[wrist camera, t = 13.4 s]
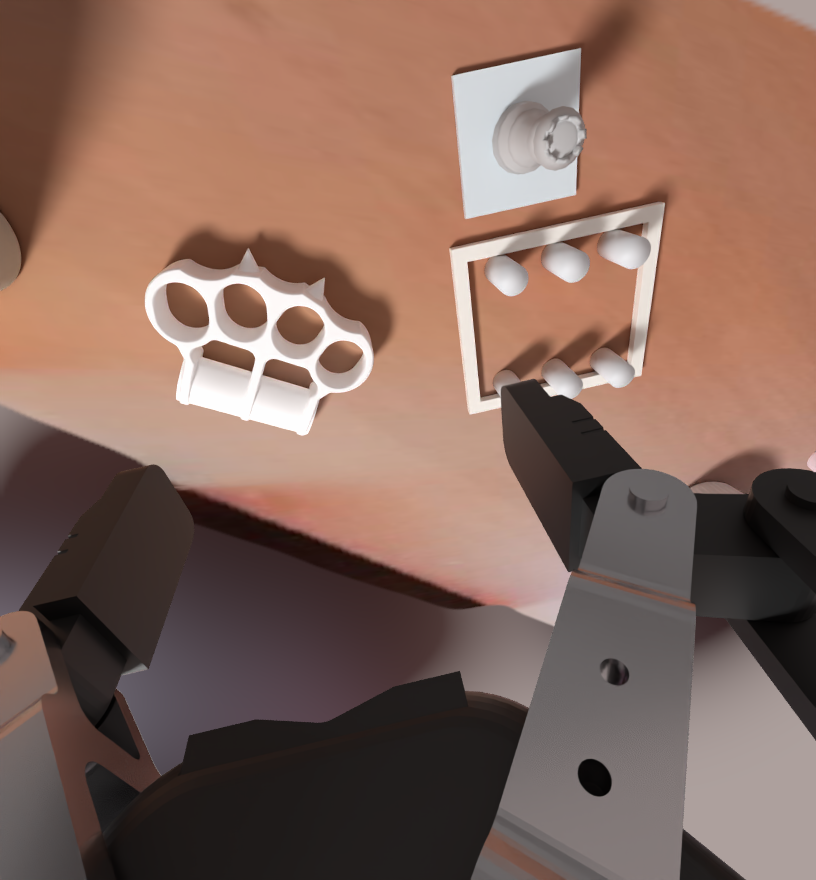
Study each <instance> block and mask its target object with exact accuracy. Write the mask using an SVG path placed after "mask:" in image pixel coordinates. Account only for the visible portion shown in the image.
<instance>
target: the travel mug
mask: <svg viewBox="0 0 816 880" xmlns="http://www.w3.org/2000/svg"><path fill="white" fill-rule="evenodd" d="M20 267H21V252H20V247H19V243H18V240H17V238H16V236H15V233H14V232H13V230H12V228H11V226H10V225H9V223H8V222H7V220H6V219H5V218H4V216H3V215H2V214H1V213H0V291H1V290H3V289H5V288H7V287H8V286H10V285H11V284H12V283H13V282H14V280H15V279H16V278H17V276H18V274H19V271H20Z"/></svg>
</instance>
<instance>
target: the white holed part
mask: <svg viewBox="0 0 816 880" xmlns="http://www.w3.org/2000/svg"><path fill="white" fill-rule="evenodd" d="M172 282H179V283H184V284H187V285H189V286H191V287H193V288H194V289H196V290H197V291H198V292H199V293H200V294H201V295H202V296H203V298H204V300H205V301H206V304H207V307H208V314H209V325H207V326H205V327H201V328H193V327H189V326H186V325H184V324H182V323H181V322H179V321H178V320H177V319H176V318H175V317H174V316H173V315H172V313H171V311H170V309H169V306H168V301H167V296H166V287H167V284H168V283H172ZM237 283H239V284H245V285H248V286H250V287H252V288H254V289H255V290H257V291H258V292H259V293H260V294H261V296H262V297H263V299H264V301H265V303H266V307H267V322H266V323H264V324H263V325H262V326H259V327H256V328H246V327H242V326H240V325H238V324H236V323H235V322H234V321H233V320H232V319H231V318H230V317H229V316H228V314H227V312H226V309H225V304H224V295H223V292H224V288H225V287H226V286H228V285H231V284H237ZM324 283H325V278H323V279H321V280H319V281H317V282H315V283H314V284H312V285H310V286H309V285H308V284H306V283H305V282H303V283H291V282H286V281H283V280H281V279H279V278H277V277H275V276H274V275H273V274H271V273H270V272H269V271H268V270H267V269H266V268H265V267H260V266H258V265H257V263H256V261H255V259H254V257H253V255H252V254H251V252H250V250H249V248H248V249H247V251H246V253H245V255H244V257H243V259H242V261H241V263H240V264H238V265H236V266H234V267H231V268H228V269H211V268H207V267H204V266H202V265H200V264H198V263H196V262H194V261H193V260H191V259H183V260H179V261H176V262H174V263H172V264H170V265H169V266H167V267H166V268H165V269H164V270H162V271H161V272H160V273H159V274H157V275H156V276H155V277H154V278H153V279H152V280H151V282H150V283H149V285H148V287H147V290H146V294H145V308H146V312H147V315H148V317H149V320H150V322H151V323H152V325H153V326H154V328H155V329H156V330H157V331H158V332H159V333H160V334H161V335H162V336H163V337H164V338H165V339H167V340H168V341H170V342H171V343H173V344H175V345H176V346H177V347H178V348H179V350H180V352H181V354H182V356H183V357H184V360H183V364H182V367H181V371H180V375H179V380H178V385H177V392H176V400H179V401H180V403H182V404H186V405H188V404H189V403H191V404H194V405H198V406H202V407H206V408H209V409H213V410H217V411H220V412H224V413H228V414H232V415H235V416H239V417H241V419H243V420H246V421H248V420H249V419H250V420H254V421H258V422H262V423H265V424H269V425H273V426H277V427H280V428H284V429H288V430H292V431H295V432H297V434H299V435H304V434H307V433H308V432H309V430H310V427H311V425H312V422H313V420H314V417H315V414H316V410H317V407H318V404H319V400H320V399H321V398H322V397H324V396H325V395H327V394H329V393H331V392H335V393H339V392H346V391H350V390H352V389H354V388H356V387H358V386H359V385H361V384H362V383H363V382H364V381H365V380H366V379H367V377H368V376H369V374H370V372H371V370H372V367H373V363H374V353H373V348H372V343H371V338H370V335H369V333H368V331H367V329H366V327H365V326H364V325H363V324H362V323H361V322H360V321H354V320H350V319H347V318H344V317H342V316H341V315H339V314H338V313H336V312H335V311H334V310H333V309H332V308H331V306H330V305H329V303H328V301H327V299H326V297H325V296H324V295H323V294H324ZM294 306H306V307H309V308H311V309H313V310H314V311H316V312H317V313H318V314H319V315H320V316H321V318H322V320H323V322H324V326H323V328H322V330H321V331H320V333H319V334H318V335H317V336H316V338H315V339H314V340H312V341H311V342H309V343H306V344H294V343H291V342H289V341H287V340H286V339H284V338H283V337H282V336H281V334H280V333H279V331H278V329H277V325H276V322H277V320H278V319H279V318H280V316H281V315H282V313H283V312H284V311H285V310H287V309H289V308H291V307H294ZM211 340H218V341H221V342H224V343H227V344H230V345H234V346H237V347H240V348H243V349H246V350H249V351H250V352H252V353H253V354H254V356H255V363H254V367H253V371H252V372H251V371H247V370H244V369H241V368H237V367H234V366H231V365H227V364H224V363H221V362H217V361H214V360H211V359H207V358H204V357H203V352H204V350H203V348H202V346H203V345H205V344H207V343H208V342H209V341H211ZM341 340H346V341H351V342H353V343H355V344H357V345H358V346H359V347H360V348H361V349H362V350H363V355H362V357H361V359H360V360H359V361H358V362H357V364H356V365H355V366H354V367H353V368H352V369H351V370H349V371H347V372H344V373H333V372H330V371H328V370H326V369H325V368H324V367H323V366H322V365H321V364H320V362H319V357H320V355H321V354H322V353H323V352H324V350H325V349H326V348H327V347H328V346H329V345H330V344H332V343H334V342H336V341H341ZM270 359H278V360H281V361H284V362H287V363H291V364H294V365H297V366H300V367H303V368H306V369H307V370H308V371H309V372H310V375H311V377H312V379H313V380H314V381H313V382H312V383H310V386H309V389H307V388H304V387H301V386H297V385H294V384H291V383H287V382H284V381H281V380H277V379H274V378H271V377H267V376H264V375H262V374H263V371H264V367H265V364H266V362H267V361H268V360H270Z"/></svg>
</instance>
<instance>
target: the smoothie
mask: <svg viewBox="0 0 816 880" xmlns="http://www.w3.org/2000/svg"><path fill="white" fill-rule="evenodd" d="M807 465H808V467H809V468H810V469H811V470H812V471H813V472H816V451H815V452H814V453H813V454H812V455H811V456H810V458H809V459H808V462H807Z"/></svg>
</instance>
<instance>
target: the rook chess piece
mask: <svg viewBox="0 0 816 880" xmlns="http://www.w3.org/2000/svg"><path fill="white" fill-rule="evenodd" d="M585 138H586V129H585V125H584V122H583V120H582V117H581V115H580V114H579V113H578V112H577V111H576V110H575V109H574V108H571V107H566V106H561V107H558V108H554V109H552V110H551V111H548V110H547V109H546V108H545V107H544V106H543V105H542V104H541V103H536V102H531V101H522V102H519V103H515V104H513V105H511V106H510V107H509V108H508V109H507V110H506V111H504V112H503V113H502V115H501V116H500V118H499V120H498V122H497V123H496V125H495V128H494V133H493V138H492V146H493V155H494V157H495V158H496V160H497V162H498V164H499V166H500V167H502V168H503V169H504V170H505V171H507V172H508V173H513V174H525V173H529V172H532V171H535V170H536V169H537V168H538V167H540V166H541V165H542V166H543V167H544V168H545V169H549V170H554V171H556V170H560V169H563V168H566V167H567V166H568V165H569V164H571V163H572V162H573V161H574V160H575V159H576V157H577V156H578V155H579V154H580V152H581V151H582V149H583V148H582V146H583V143H584V139H585Z"/></svg>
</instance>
